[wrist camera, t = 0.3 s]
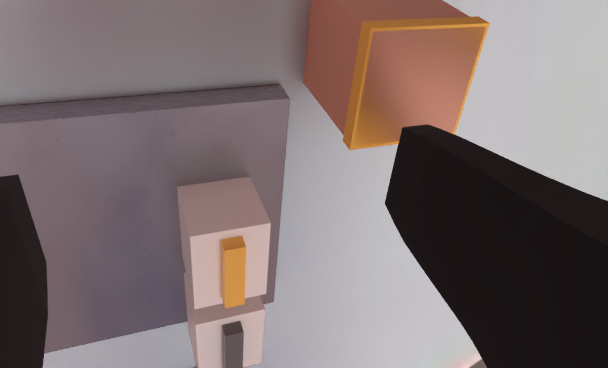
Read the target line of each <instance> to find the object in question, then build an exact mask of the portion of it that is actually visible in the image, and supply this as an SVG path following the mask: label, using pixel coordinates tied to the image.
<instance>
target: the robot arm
mask: <svg viewBox="0 0 608 368" xmlns="http://www.w3.org/2000/svg"><path fill="white" fill-rule="evenodd" d="M385 205H386V207H387V209H388V211H389V213H390V215H391V217H392V219H393V222H394V224H395V226H396V228H397V229H398V231H399V233H400V235H401V237H402V239H403V241H404V242H405V244H406V245H407V247H408V248H409V250H410V251H411V253H412V254H413V256H414V257H415V259H416V260H417V262H418V263H419V264H420V266H421V267H422V269H423V270H424V272H425V273H426V275H427V276H428V277H429V279H430V280H431V282H432V283H433V284H434V286H435V287H436V289H437V290H438V292H439V293H440V294H441V296H442V297H443V299H444V300H445V301H446V303H447V304H448V306H449V307H450V309H451V310H452V311H453V313H454V314H455V316H456V317H457V318H458V320H459V321H460V323H461V324H462V326H463V327H464V329H465V330H466V332H467V334H468V335H469V337H470V338H471V340H472V341H473V343H474V345H475V347H476V348H477V350H478V352H479V354H480V356H481V357H482V359H483V361H484V363H485V365H486V366H487V368H608V201H606V200H603V199H600V198H598V197H595V196H592V195H590V194H587V193H585V192H582V191H580V190H577V189H575V188H572V187H570V186H568V185H565V184H563V183H560V182H558V181H555V180H553V179H551V178H548V177H546V176H544V175H542V174H539V173H537V172H535V171H532V170H530V169H528V168H526V167H524V166H521V165H519V164H517V163H515V162H513V161H511V160H508V159H506V158H504V157H502V156H500V155H498V154H496V153H493V152H491V151H489V150H487V149H485V148H483V147H481V146H478V145H476V144H474V143H472V142H470V141H468V140H465V139H463V138H461V137H459V136H456V135H454V134H452V133H450V132H447V131H445V130H442V129H440V128H437V127H434V126H431V125H428V124H425V125H417V126H409V127H402V131H401V135H400V140H399V144H398V148H397V153H396V157H395V161H394V166H393V170H392V174H391V179H390V183H389V187H388V192H387V196H386V200H385ZM47 320H48V289H47V263H46V259H45V256H44V253H43V250H42V247H41V244H40V241H39V237H38V234H37V231H36V228H35V225H34V222H33V219H32V215H31V212H30V209H29V206H28V203H27V200H26V197H25V193H24V190H23V187H22V184H21V181H20V178H19V175H10V176H1V177H0V368H42V367H43V358H44V349H45V340H46V330H47Z"/></svg>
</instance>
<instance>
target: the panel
mask: <svg viewBox="0 0 608 368" xmlns="http://www.w3.org/2000/svg"><path fill="white" fill-rule="evenodd" d="M289 103H290V98H289V96H288V95H287V94H286V92H285V91H284V89H283V88H282V86H281V85H269V86H256V87H244V88H231V89H218V90H206V91H193V92H180V93H167V94H155V95H142V96H129V97H116V98H104V99H91V100H78V101H65V102H53V103H40V104H27V105H15V106H2V107H0V177H1V176H10V175H19V178H20V181H21V184H22V187H23V190H24V193H25V197H26V200H27V203H28V206H29V209H30V212H31V215H32V219H33V222H34V225H35V228H36V231H37V234H38V237H39V241H40V244H41V247H42V250H43V253H44V256H45V259H46V263H47V289H48V320H47V330H46V340H45V349H44V353H48V352H52V351H57V350H61V349H66V348H70V347H74V346H79V345H83V344H88V343H92V342H97V341H101V340H106V339H110V338H115V337H119V336H123V335H128V334H132V333H137V332H141V331H146V330H150V329H155V328H159V327H164V326H168V325H172V324H177V323H181V322H186V321H188V320H187V308H186V295H185V282H184V273H186V270H185V266H184V262H183V257H182V244H181V232H180V219H179V206H178V194H177V187H178V186H185V185H192V184H200V183H207V182H214V181H221V180H229V179H236V178H243V177H250V178H251V180H252V182H253V184H254V187H255V189H256V191H257V193H258V196H259V198H260V200H261V202H262V204H263V207H264V209H265V211H266V213H267V216H268V218H269V220H270V222H271V228H270V244H269V259H268V274H267V289H266V294H263V295H260V296H261V299H262V302H263V304H266V303H270V302H274V289H275V277H276V264H277V252H278V240H279V227H280V215H281V202H282V190H283V178H284V165H285V153H286V140H287V128H288V116H289Z"/></svg>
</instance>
